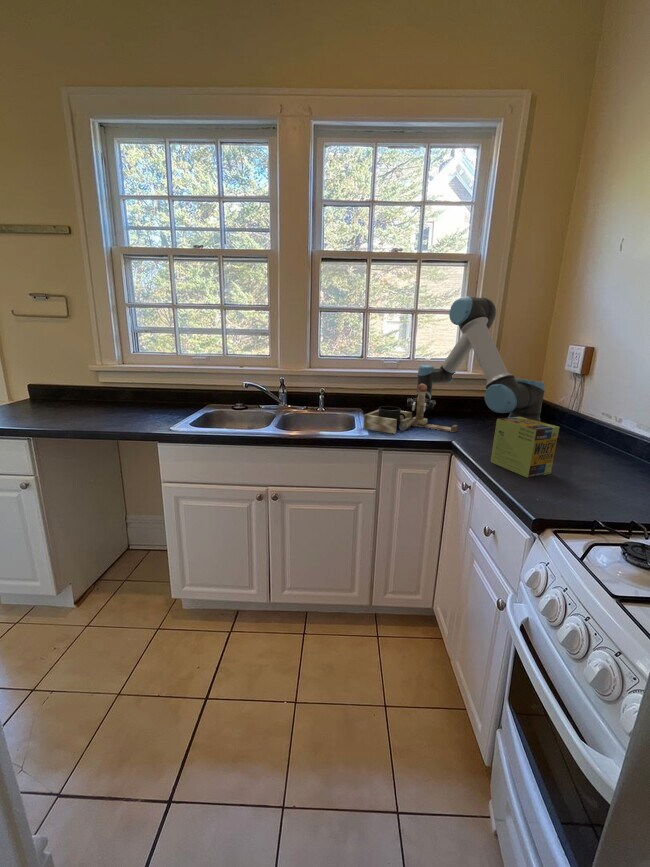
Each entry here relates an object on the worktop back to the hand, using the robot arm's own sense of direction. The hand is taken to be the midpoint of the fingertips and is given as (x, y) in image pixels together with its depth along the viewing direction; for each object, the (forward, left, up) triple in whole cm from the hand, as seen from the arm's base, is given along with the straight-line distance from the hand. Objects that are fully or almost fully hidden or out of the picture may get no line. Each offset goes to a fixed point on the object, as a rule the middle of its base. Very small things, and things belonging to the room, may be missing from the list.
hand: (418, 408), depth 173 cm
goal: (+11, +6, -9) cm, 16 cm away
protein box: (-46, +28, -9) cm, 54 cm away
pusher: (+1, +1, -9) cm, 9 cm away
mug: (+9, +7, -9) cm, 15 cm away
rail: (-3, -5, -9) cm, 11 cm away
